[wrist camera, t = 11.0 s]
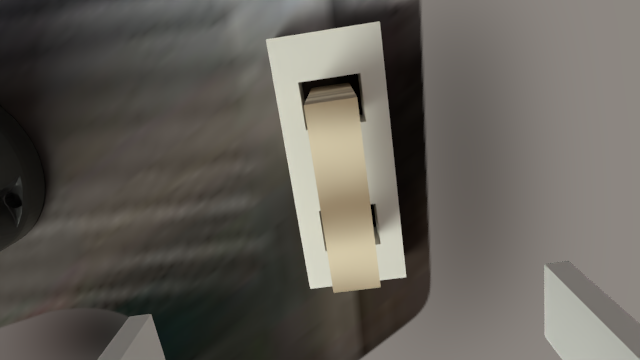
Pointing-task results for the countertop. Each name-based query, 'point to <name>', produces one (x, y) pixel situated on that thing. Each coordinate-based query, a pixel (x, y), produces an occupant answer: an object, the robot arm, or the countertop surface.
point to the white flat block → (368, 62)
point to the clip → (342, 186)
